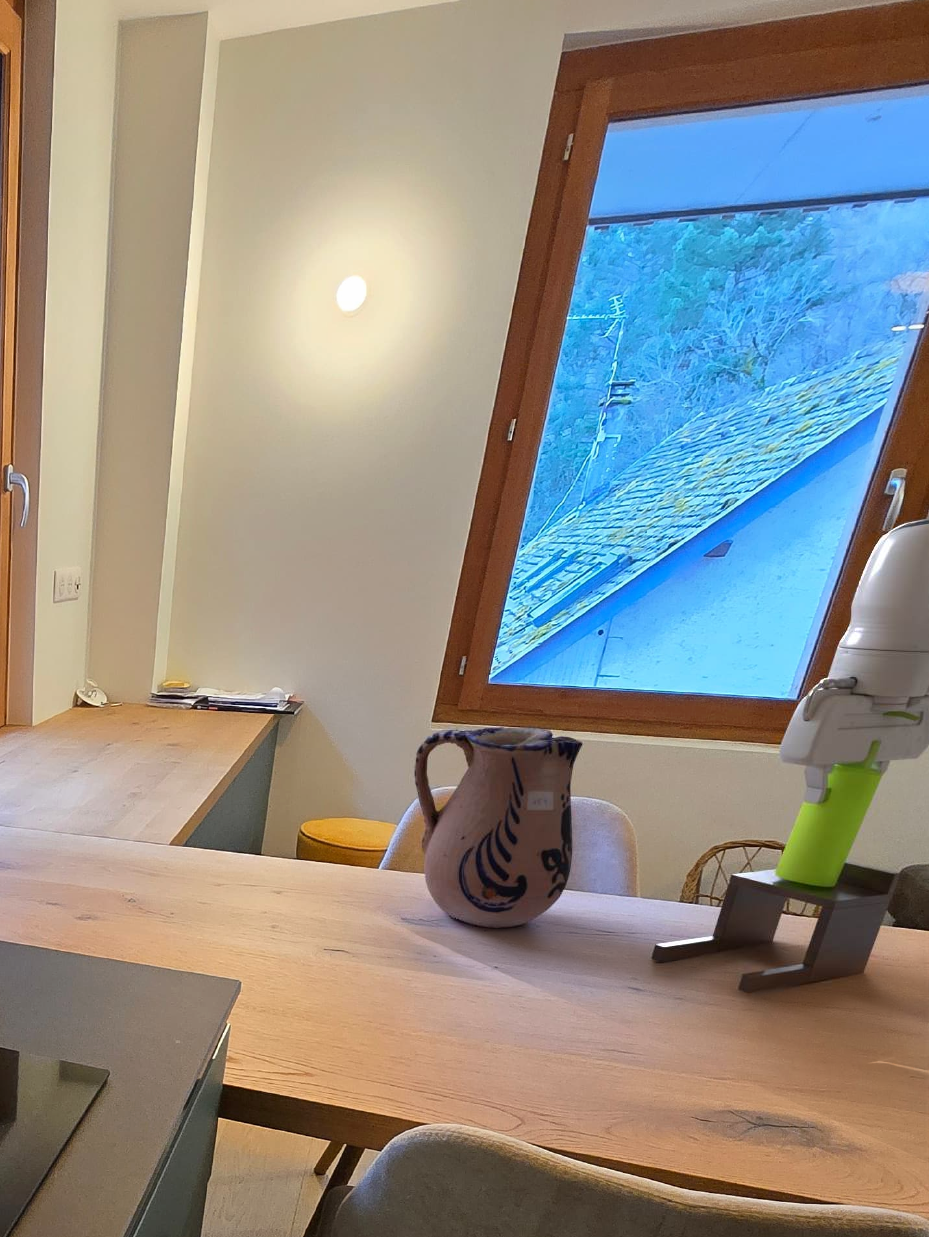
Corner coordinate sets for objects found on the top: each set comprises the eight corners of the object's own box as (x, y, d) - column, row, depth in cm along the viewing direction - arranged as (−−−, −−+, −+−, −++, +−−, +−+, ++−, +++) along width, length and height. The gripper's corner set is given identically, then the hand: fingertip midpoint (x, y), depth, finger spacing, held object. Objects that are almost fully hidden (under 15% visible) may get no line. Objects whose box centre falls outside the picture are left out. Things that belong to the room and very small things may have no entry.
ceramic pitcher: (558, 949, 133) (609, 753, 122) (383, 926, 141) (416, 740, 130) (553, 905, 147) (597, 726, 136) (394, 887, 155) (424, 716, 144)
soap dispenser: (849, 892, 119) (926, 714, 112) (776, 879, 123) (847, 705, 115) (842, 882, 124) (916, 711, 116) (772, 870, 127) (839, 702, 119)
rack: (863, 973, 124) (900, 873, 119) (747, 993, 118) (782, 888, 113) (762, 942, 134) (792, 849, 130) (650, 959, 128) (678, 862, 123)
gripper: (847, 681, 109) (803, 811, 114) (969, 677, 115) (922, 801, 120) (785, 675, 114) (746, 800, 119) (905, 672, 121) (862, 790, 126)
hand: (835, 800), depth 120 cm, fingers closed on soap dispenser, 6 cm apart
